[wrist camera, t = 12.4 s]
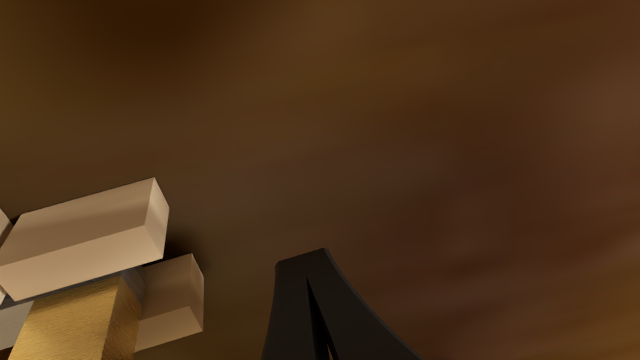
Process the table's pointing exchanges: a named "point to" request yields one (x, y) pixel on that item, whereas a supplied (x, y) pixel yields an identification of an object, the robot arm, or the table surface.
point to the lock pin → (77, 320)
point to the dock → (105, 256)
